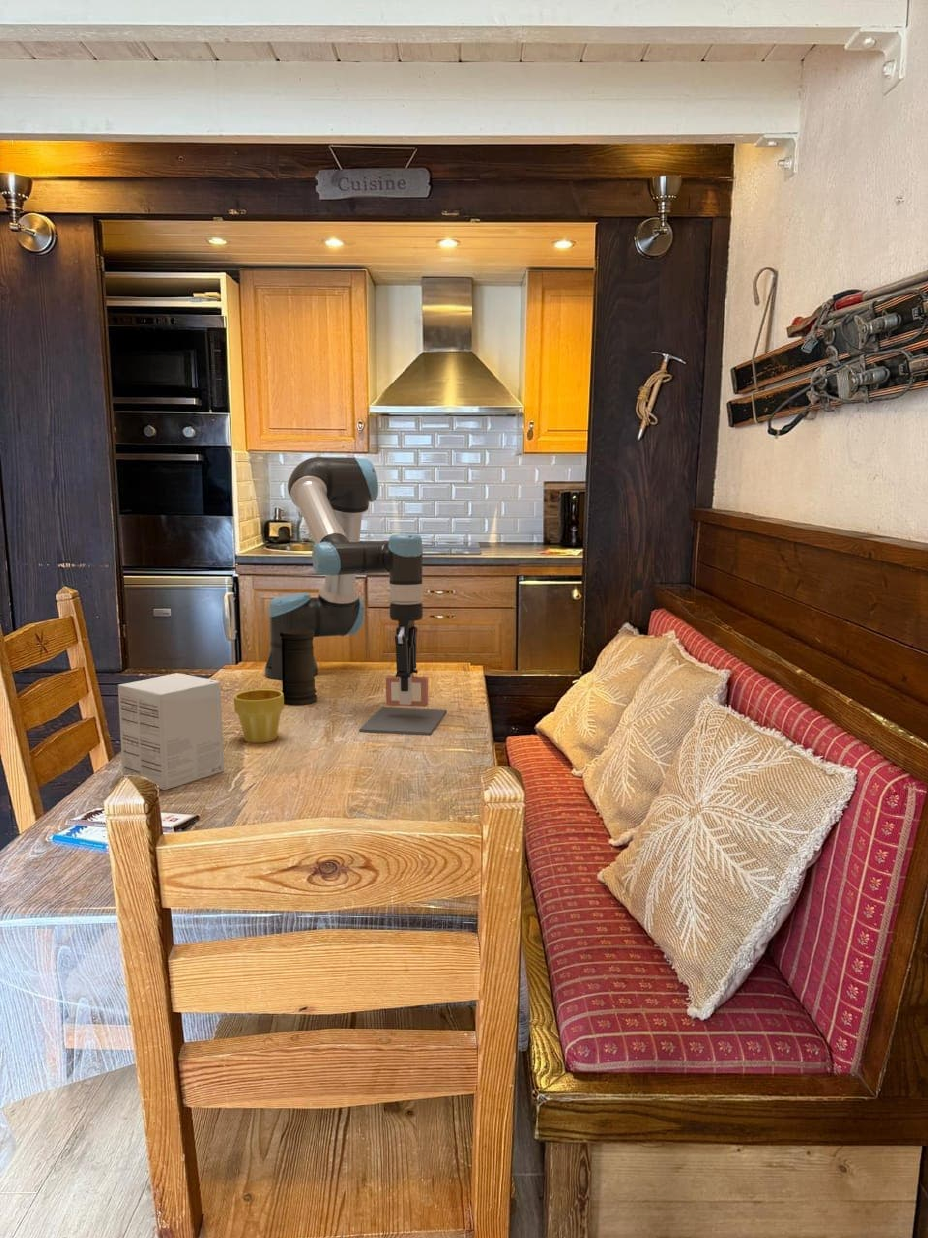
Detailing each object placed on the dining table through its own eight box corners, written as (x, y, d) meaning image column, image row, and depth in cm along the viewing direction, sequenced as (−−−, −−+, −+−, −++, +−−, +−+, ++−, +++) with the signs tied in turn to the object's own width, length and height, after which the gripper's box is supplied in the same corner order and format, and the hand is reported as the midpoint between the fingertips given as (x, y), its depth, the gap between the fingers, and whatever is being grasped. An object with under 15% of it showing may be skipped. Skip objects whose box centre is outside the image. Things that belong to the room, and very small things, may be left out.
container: (321, 697, 215) (319, 628, 213) (311, 706, 206) (309, 634, 204) (287, 696, 216) (285, 628, 214) (276, 705, 207) (273, 633, 205)
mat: (381, 709, 204) (381, 707, 203) (446, 712, 201) (446, 709, 201) (359, 731, 184) (359, 729, 184) (430, 735, 182) (430, 732, 181)
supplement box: (181, 759, 165) (177, 672, 162) (225, 771, 157) (222, 680, 155) (120, 777, 154) (115, 684, 151) (164, 791, 146) (159, 694, 144)
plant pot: (229, 745, 173) (227, 699, 172) (242, 732, 184) (241, 688, 182) (278, 746, 173) (277, 700, 172) (289, 732, 184) (288, 688, 182)
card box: (388, 703, 196) (388, 675, 195) (428, 704, 194) (428, 677, 193) (386, 705, 194) (385, 677, 193) (426, 706, 192) (426, 679, 191)
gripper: (397, 598, 199) (398, 694, 202) (381, 605, 184) (383, 710, 187) (428, 598, 197) (429, 696, 201) (415, 606, 182) (415, 711, 186)
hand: (406, 702), depth 194 cm, fingers closed on card box, 2 cm apart
